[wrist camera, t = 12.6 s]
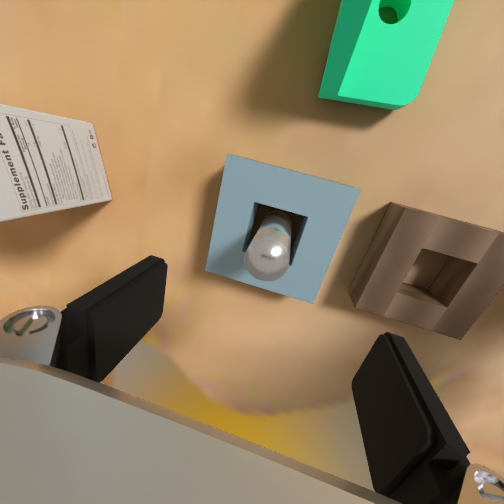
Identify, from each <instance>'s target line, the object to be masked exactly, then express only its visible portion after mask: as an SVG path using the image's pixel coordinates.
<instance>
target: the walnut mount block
mask: <svg viewBox="0 0 504 504" xmlns="http://www.w3.org/2000/svg"><path fill="white" fill-rule="evenodd" d="M422 248H424V249H428V250H431V251H435V252H438V253H442V254H446V255H449V256H450V257H449V259H448V260H447V262H446V263H445V265H444V267H443V268H442V270H441V271H440V273H439V274H438V276H437V278H436V279H435V281H434V282H433V284H432V285H431V287H430V289H429V290H426V289H423V288H419V287H416V286H413V285H409V284H406V283H403V281H404V279H405V277H406V276H407V274H408V272H409V270H410V269H411V267H412V265H413V264H414V262H415V260H416V258H417V257H418V255H419V253H420V251H421V250H422ZM503 285H504V232H500V231H497V230H493V229H489V228H485V227H482V226H478V225H474V224H471V223H467V222H463V221H459V220H456V219H452V218H448V217H444V216H441V215H437V214H433V213H430V212H426V211H422V210H418V209H415V208H411V207H407V206H404V205H400V204H396V203H392V202H390V204H389V207H388V209H387V211H386V213H385V215H384V217H383V219H382V221H381V223H380V225H379V228H378V230H377V232H376V234H375V236H374V238H373V240H372V242H371V244H370V246H369V249H368V251H367V253H366V255H365V257H364V259H363V261H362V263H361V265H360V267H359V270H358V272H357V274H356V276H355V278H354V280H353V282H352V284H351V286H350V288H349V291H348V292H349V294H350V297H351V299H352V301H353V304H354V306H355V308H358V309H361V310H364V311H368V312H371V313H374V314H377V315H381V316H384V317H387V318H390V319H394V320H397V321H400V322H404V323H407V324H410V325H413V326H417V327H420V328H423V329H426V330H430V331H433V332H436V333H440V334H443V335H446V336H449V337H453V338H456V339H459V340H461V339H462V338H463V336H464V335H465V334H466V332H467V331H468V330H469V329H470V327H471V326H472V325H473V323H474V322H475V321H476V319H477V318H478V317H479V316H480V314H481V313H482V312H483V310H484V309H485V308H486V307H487V305H488V304H489V303H490V301H491V300H492V299H493V297H494V296H495V295H496V294H497V292H498V291H499V290H500V288H501V287H502V286H503Z"/></svg>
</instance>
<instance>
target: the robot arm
mask: <svg viewBox="0 0 504 504" xmlns="http://www.w3.org/2000/svg"><path fill="white" fill-rule="evenodd" d="M166 277H167V264H166V263H165V261H164V259H161V258H158V257H155V256H152V255H151V256H148V257H147V258H145V259H143V260H142V261H140V262H138V263H137V264H135V265H133V266H132V267H130V268H128V269H126V270H125V271H123V272H121V273H120V274H118V275H116V276H115V277H113V278H111V279H110V280H108V281H106V282H105V283H103V284H101V285H100V286H98V287H96V288H94V289H93V290H91V291H89V292H88V293H86V294H84V295H83V296H81V297H79V298H78V299H76V300H74V301H73V302H71V303H69V304H68V305H67V308H66V309H64V310H63V311H61V312H60V311H59V310H58V309H56V308H54V307H49V306H35V307H28V308H24V309H21V310H18V311H15V312H13V313H11V314H9V315H7V316H6V317H4V318H3V319H1V320H0V504H504V478H502V477H501V476H500V475H498V474H497V473H496V472H494V471H492V470H491V469H489V468H487V467H485V466H482V465H479V464H470V462H469V460H468V459H467V457H466V456H467V455H468V454H469V453H470V451H469V449H468V448H467V446H466V444H465V442H464V441H463V439H462V437H461V435H460V434H459V432H458V430H457V429H456V427H455V425H454V423H453V422H452V420H451V418H450V416H449V415H448V413H447V411H446V410H445V408H444V406H443V404H442V403H441V401H440V399H439V397H438V396H437V394H436V392H435V391H434V389H433V387H432V385H431V384H430V382H429V380H428V378H427V377H426V375H425V373H424V372H423V370H422V368H421V366H420V365H419V363H418V361H417V360H416V358H415V356H414V354H413V353H412V351H411V349H410V347H409V346H408V344H407V342H406V341H405V339H404V338H403V337H401V336H397V335H394V334H391V333H388V332H387V333H385V334H384V335H383V334H381V335H379V337H378V338H377V340H376V341H375V343H374V345H373V346H372V348H371V350H370V351H369V353H368V355H367V356H366V358H365V360H364V361H363V363H362V365H361V367H360V368H359V370H358V372H357V373H356V375H355V377H354V378H353V381H352V391H353V396H354V401H355V405H356V410H357V414H358V419H359V424H360V428H361V433H362V437H363V442H364V447H365V451H366V456H367V460H368V465H369V470H370V474H371V479H372V484H373V488H374V490H375V492H374V491H372V490H369V489H367V488H364V487H361V486H359V485H356V484H354V483H351V482H349V481H347V480H344V479H342V478H339V477H337V476H334V475H332V474H329V473H327V472H324V471H322V470H319V469H317V468H314V467H312V466H309V465H307V464H304V463H302V462H299V461H297V460H294V459H292V458H290V457H287V456H285V455H282V454H280V453H277V452H275V451H272V450H270V449H267V448H265V447H262V446H260V445H257V444H255V443H252V442H249V441H247V440H244V439H242V438H239V437H237V436H234V435H232V434H229V433H227V432H224V431H222V430H219V429H217V428H214V427H211V426H209V425H207V424H204V423H201V422H199V421H196V420H194V419H191V418H189V417H186V416H184V415H181V414H178V413H176V412H173V411H171V410H168V409H166V408H163V407H160V406H158V405H156V404H153V403H150V402H148V401H145V400H143V399H140V398H137V397H135V396H132V395H130V394H127V393H125V392H122V391H120V390H117V389H114V388H112V387H109V386H106V385H104V384H101V383H98V382H101V381H102V380H103V379H104V378H105V377H106V376H107V375H108V374H109V373H110V372H111V371H112V370H113V369H114V368H115V367H116V365H117V364H118V363H119V362H120V361H121V360H122V359H123V358H124V357H125V356H126V354H128V353H129V352H130V350H131V349H132V348H133V347H134V346H135V345H136V344H137V343H138V342H139V341H140V340H141V339H142V338H143V336H144V335H145V334H146V333H147V332H148V331H149V330H150V329H151V328H152V327H153V326H154V325H155V324H156V322H157V321H158V320H159V319H160V318H161V316H162V313H163V305H164V295H165V286H166Z"/></svg>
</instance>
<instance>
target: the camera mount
mask: <svg viewBox="0 0 504 504" xmlns="http://www.w3.org/2000/svg"><path fill="white" fill-rule="evenodd" d="M453 2H454V0H341V3H340V7H339V11H338V15H337V19H336V24H335V28H334V32H333V36H332V40H331V44H330V48H329V52H328V58H327V62H326V66H325V70H324V74H323V78H322V82H321V86H320V90H319V95H318V98H324V99H330V100H337V101H343V102H349V103H355V104H361V105H367V106H373V107H380V108H386V109H392V110H396V109H400V108H402V107H403V106H405V105H407V104H409V103H411V102H412V101H413V100H414V99H415V98H416V97H417V95H418V93H419V91H420V88H421V86H422V83H423V80H424V78H425V75H426V72H427V70H428V67H429V65H430V62H431V59H432V57H433V54H434V51H435V49H436V46H437V44H438V41H439V38H440V36H441V33H442V30H443V28H444V25H445V23H446V20H447V17H448V15H449V12H450V9H451V7H452V4H453ZM382 7H391V8H393V9H394V10H395V11H396V13H397V17H398V22H397V23H395V24H386V23H384V22H383V21H382V20H381V18H380V16H379V9H380V8H382Z"/></svg>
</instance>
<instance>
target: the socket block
mask: <svg viewBox="0 0 504 504" xmlns="http://www.w3.org/2000/svg"><path fill="white" fill-rule="evenodd" d="M359 192H360V189H357V188H354V187H352V186H349V185H345V184H341V183H338V182H334V181H330V180H326V179H323V178H319V177H315V176H311V175H308V174H304V173H300V172H296V171H293V170H289V169H285V168H281V167H278V166H274V165H270V164H266V163H263V162H259V161H255V160H251V159H248V158H244V157H240V156H235V155H229V154H227V155H226V161H225V166H224V172H223V177H222V182H221V188H220V193H219V199H218V204H217V209H216V215H215V220H214V226H213V231H212V236H211V242H210V247H209V253H208V258H207V263H206V269H205V271H207V272H211V273H214V274H217V275H220V276H224V277H227V278H230V279H233V280H237V281H240V282H243V283H246V284H250V285H253V286H256V287H259V288H263V289H266V290H269V291H272V292H276V293H279V294H282V295H285V296H289V297H292V298H295V299H298V300H302V301H305V302H308V303H311V304H313V303H314V300H315V298H316V296H317V293H318V291H319V288H320V286H321V284H322V281H323V279H324V276H325V274H326V272H327V269H328V267H329V264H330V262H331V260H332V257H333V255H334V252H335V250H336V248H337V245H338V243H339V240H340V238H341V236H342V233H343V231H344V228H345V226H346V224H347V221H348V219H349V216H350V214H351V212H352V209H353V207H354V204H355V202H356V200H357V197H358V195H359ZM259 203H260V204H264V205H267V206H271V207H275V208H278V209H282V210H285V211H289V212H292V213H296V214H300V215H303V216H304V217H303V220H302V223H301V226H300V229H299V232H298V235H297V238H296V240H295V243H294V246H293V249H292V251H290V257H289V266H288V269H287V271H286V273H285V274H284V275H283V276H282V277H281V278H279V279H277V280H275V281H261V280H258V279H256V278H254V277H253V276H252V275H251V274H250V273H249V272H248V271H247V269H246V267H245V263H244V256H245V253H246V251H247V249H248V247H249V245H250V244H251V242H252V240H253V239H250V236H251V232H252V229H253V225H254V221H255V217H256V213H257V209H258V205H259Z"/></svg>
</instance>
